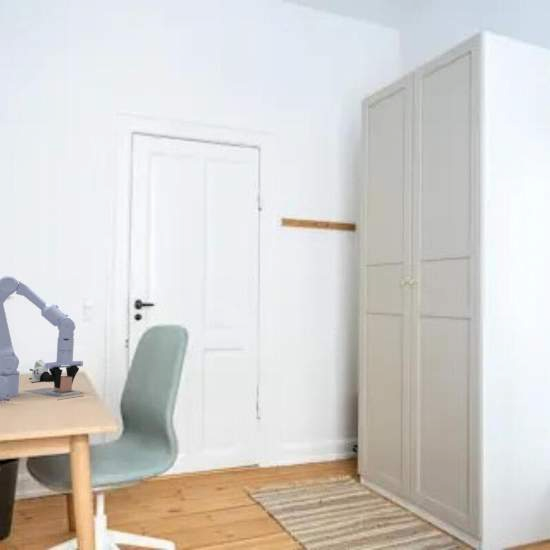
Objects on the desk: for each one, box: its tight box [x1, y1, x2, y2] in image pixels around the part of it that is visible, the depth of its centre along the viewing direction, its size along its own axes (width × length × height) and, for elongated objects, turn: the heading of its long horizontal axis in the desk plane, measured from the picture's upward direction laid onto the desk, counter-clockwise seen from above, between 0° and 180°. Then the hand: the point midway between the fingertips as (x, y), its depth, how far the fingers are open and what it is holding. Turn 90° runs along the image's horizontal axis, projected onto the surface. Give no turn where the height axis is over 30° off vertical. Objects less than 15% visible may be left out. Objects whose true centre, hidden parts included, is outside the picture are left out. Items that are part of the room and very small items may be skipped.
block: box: [53, 375, 73, 392], centre depth 211 cm, size 4×4×5 cm
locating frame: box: [46, 389, 81, 397], centre depth 211 cm, size 8×8×1 cm
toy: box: [28, 359, 54, 384], centre depth 244 cm, size 6×12×15 cm
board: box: [24, 387, 83, 401], centre depth 214 cm, size 20×12×1 cm, turn 59°
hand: (63, 386), depth 211 cm, fingers closed on block, 4 cm apart
